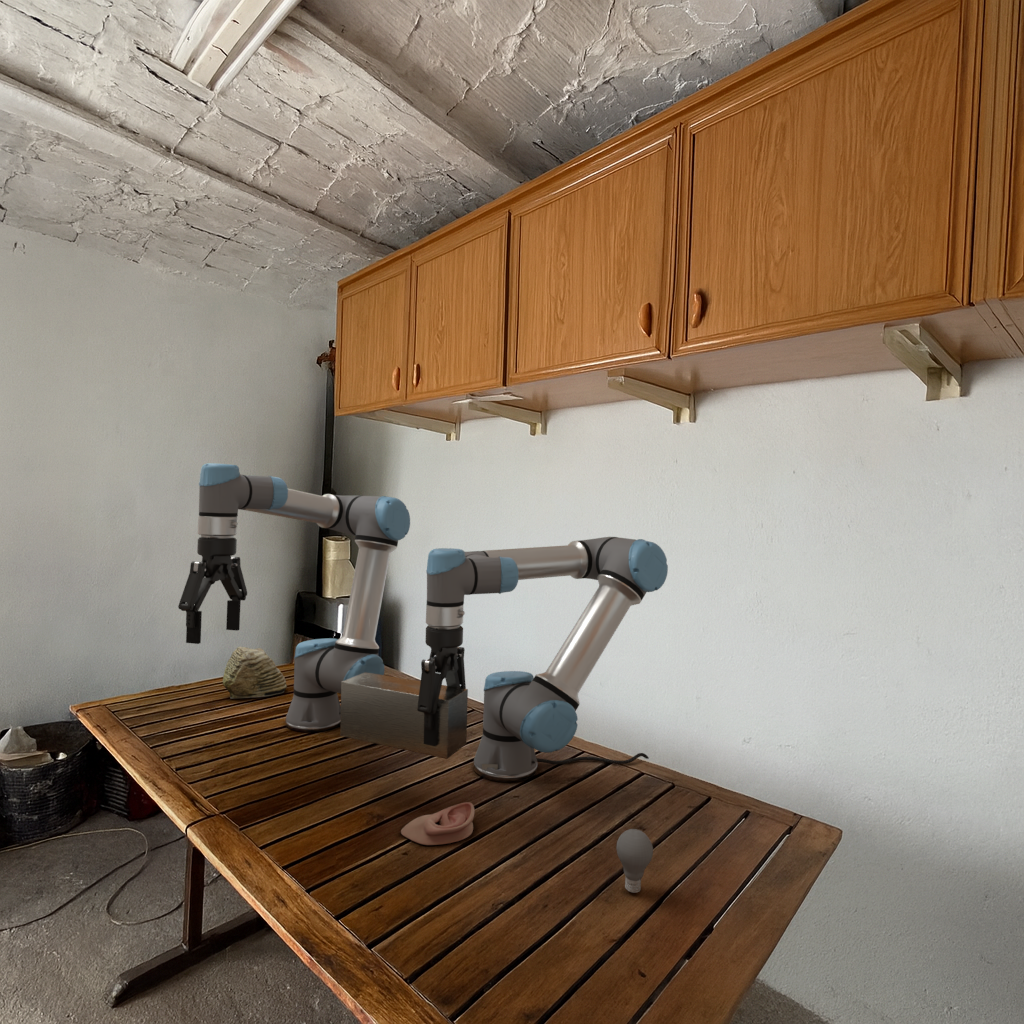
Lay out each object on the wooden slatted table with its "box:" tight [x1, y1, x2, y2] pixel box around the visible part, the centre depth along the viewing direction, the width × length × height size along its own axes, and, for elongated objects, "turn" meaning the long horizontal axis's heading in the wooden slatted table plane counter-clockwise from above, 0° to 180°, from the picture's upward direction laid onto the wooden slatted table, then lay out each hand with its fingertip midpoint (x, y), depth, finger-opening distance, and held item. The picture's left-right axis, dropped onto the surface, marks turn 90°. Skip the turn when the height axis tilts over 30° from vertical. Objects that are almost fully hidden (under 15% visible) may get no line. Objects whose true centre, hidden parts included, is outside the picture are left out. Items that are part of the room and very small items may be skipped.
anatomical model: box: [400, 801, 476, 846], centre depth 122 cm, size 13×4×12 cm
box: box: [339, 672, 469, 760], centre depth 132 cm, size 26×8×12 cm, turn 67°
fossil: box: [222, 646, 288, 699], centre depth 198 cm, size 9×18×15 cm, turn 132°
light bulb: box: [615, 828, 654, 894], centre depth 106 cm, size 6×6×10 cm
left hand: (214, 636), depth 135 cm, fingers open, 13 cm apart
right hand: (441, 736), depth 128 cm, fingers closed on box, 8 cm apart
